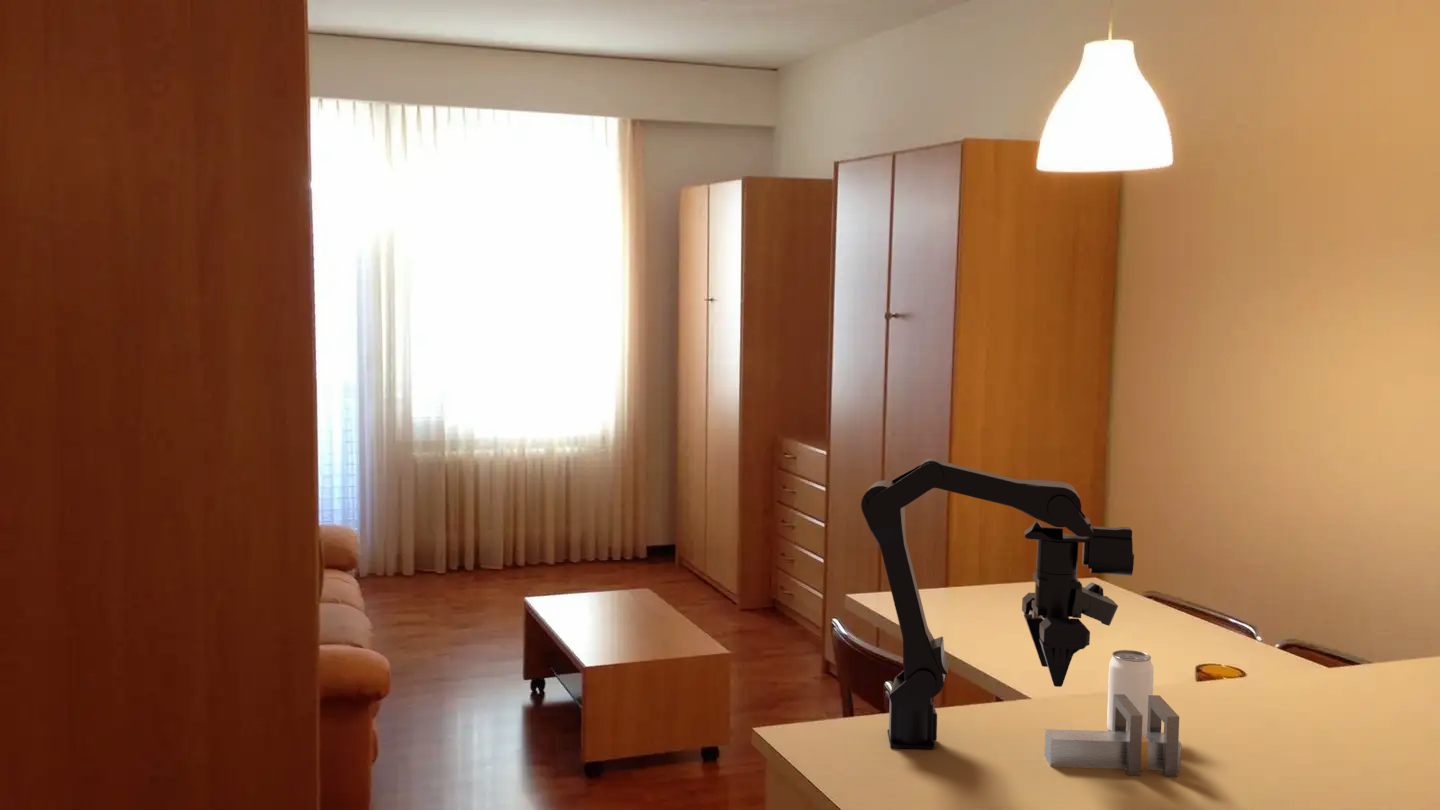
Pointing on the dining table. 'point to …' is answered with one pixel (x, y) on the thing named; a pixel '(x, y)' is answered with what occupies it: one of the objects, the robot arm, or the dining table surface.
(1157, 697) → the collar
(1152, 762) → the grey banded block
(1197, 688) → the dining table surface
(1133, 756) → the collar
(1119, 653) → the can
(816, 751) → the dining table surface
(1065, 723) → the dining table surface
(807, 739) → the dining table surface
